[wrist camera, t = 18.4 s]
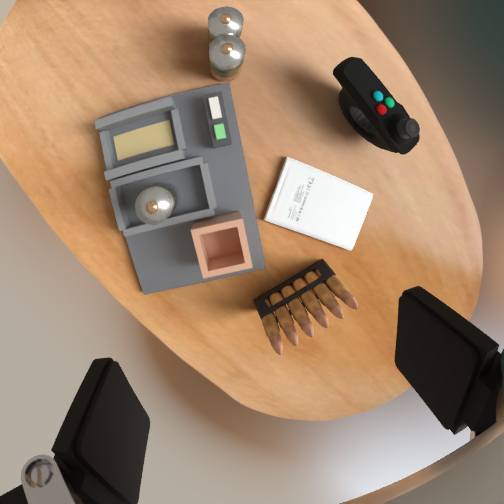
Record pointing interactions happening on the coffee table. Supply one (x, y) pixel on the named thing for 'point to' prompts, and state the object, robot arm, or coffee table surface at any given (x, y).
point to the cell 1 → (157, 203)
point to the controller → (374, 108)
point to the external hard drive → (318, 204)
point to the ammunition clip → (302, 303)
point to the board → (178, 180)
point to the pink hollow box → (221, 244)
